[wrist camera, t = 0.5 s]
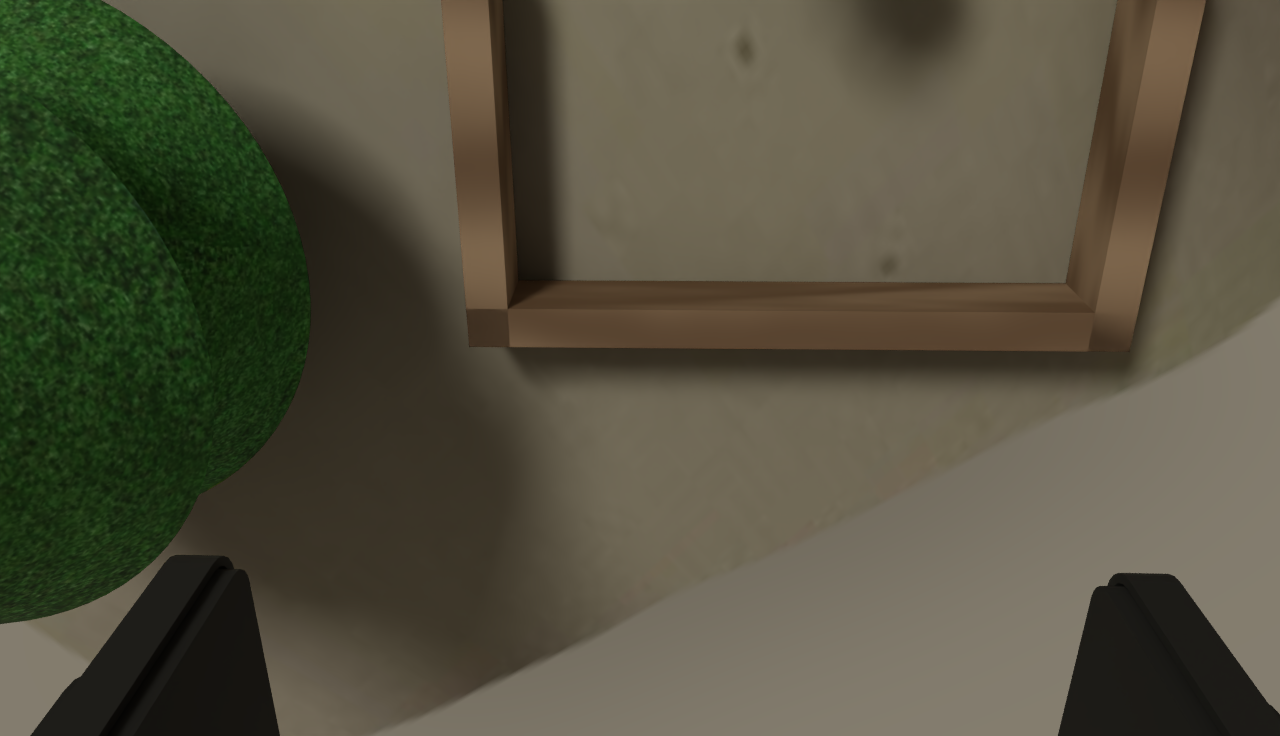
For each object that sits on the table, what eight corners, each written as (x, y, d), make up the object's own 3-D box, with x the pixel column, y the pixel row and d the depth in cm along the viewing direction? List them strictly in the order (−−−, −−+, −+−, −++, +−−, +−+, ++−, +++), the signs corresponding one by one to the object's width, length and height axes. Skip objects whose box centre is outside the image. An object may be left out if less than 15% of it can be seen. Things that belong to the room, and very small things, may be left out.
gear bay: (454, -70, 34) (435, -67, 32) (1176, -73, 34) (1221, -69, 31) (482, 315, 40) (469, 346, 38) (1098, 320, 40) (1129, 351, 37)
